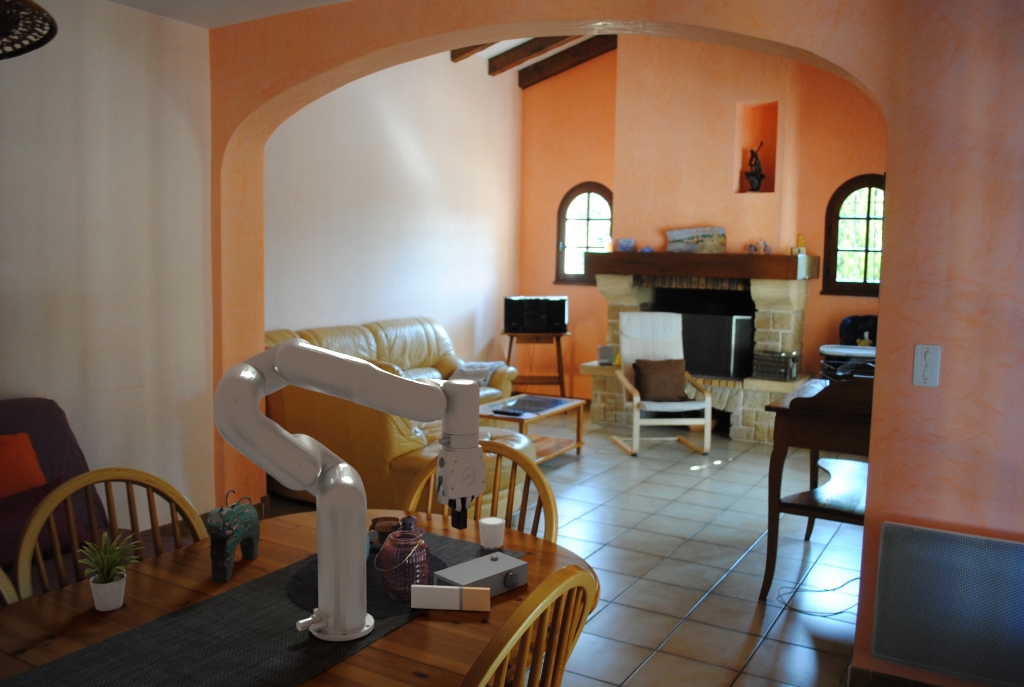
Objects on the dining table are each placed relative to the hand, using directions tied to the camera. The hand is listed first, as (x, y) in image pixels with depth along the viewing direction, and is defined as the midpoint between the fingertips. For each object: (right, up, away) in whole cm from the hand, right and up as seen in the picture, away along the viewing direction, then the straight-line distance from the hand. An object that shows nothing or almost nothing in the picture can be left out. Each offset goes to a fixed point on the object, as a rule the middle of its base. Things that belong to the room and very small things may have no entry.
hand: (459, 527), depth 176 cm
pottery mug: (-21, -15, +47) cm, 53 cm away
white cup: (+6, -15, +45) cm, 48 cm away
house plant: (-75, -18, +5) cm, 77 cm away
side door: (-2, -18, +6) cm, 19 cm away
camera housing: (+4, -18, +17) cm, 25 cm away
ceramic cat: (-55, -16, +28) cm, 64 cm away
